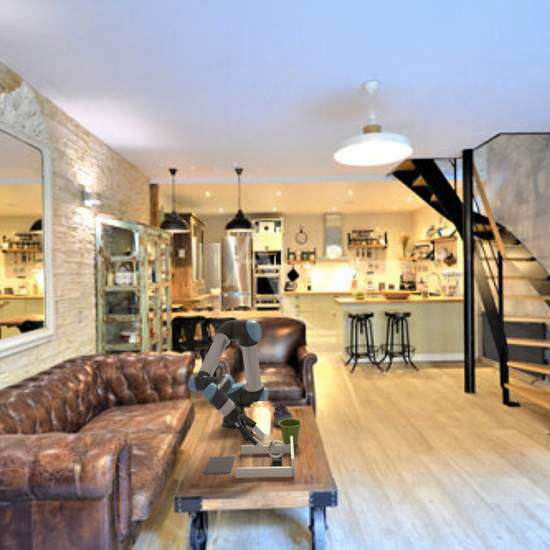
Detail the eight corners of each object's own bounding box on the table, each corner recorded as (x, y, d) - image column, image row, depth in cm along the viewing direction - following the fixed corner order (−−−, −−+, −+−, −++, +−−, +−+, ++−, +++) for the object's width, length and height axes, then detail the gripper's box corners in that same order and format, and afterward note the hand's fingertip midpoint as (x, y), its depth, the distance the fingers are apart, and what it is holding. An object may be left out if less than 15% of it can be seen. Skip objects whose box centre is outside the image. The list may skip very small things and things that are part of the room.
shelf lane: (241, 453, 202) (240, 437, 202) (293, 452, 201) (292, 436, 201) (235, 477, 177) (235, 459, 177) (294, 476, 177) (294, 458, 177)
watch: (268, 461, 192) (267, 438, 192) (284, 460, 192) (284, 437, 192) (268, 467, 186) (267, 443, 186) (285, 466, 187) (285, 442, 187)
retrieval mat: (210, 457, 198) (210, 456, 198) (234, 457, 198) (234, 456, 198) (203, 473, 182) (203, 472, 182) (230, 473, 182) (230, 472, 182)
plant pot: (302, 448, 205) (302, 426, 205) (279, 449, 205) (279, 427, 205) (301, 438, 217) (300, 418, 217) (279, 439, 217) (278, 418, 217)
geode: (269, 416, 253) (271, 400, 254) (287, 417, 255) (289, 401, 256) (273, 427, 233) (275, 409, 234) (293, 428, 235) (295, 410, 235)
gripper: (228, 407, 201) (258, 437, 201) (220, 426, 176) (255, 460, 176) (238, 397, 201) (269, 426, 201) (232, 414, 176) (266, 448, 176)
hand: (262, 442), depth 188 cm, fingers open, 13 cm apart
